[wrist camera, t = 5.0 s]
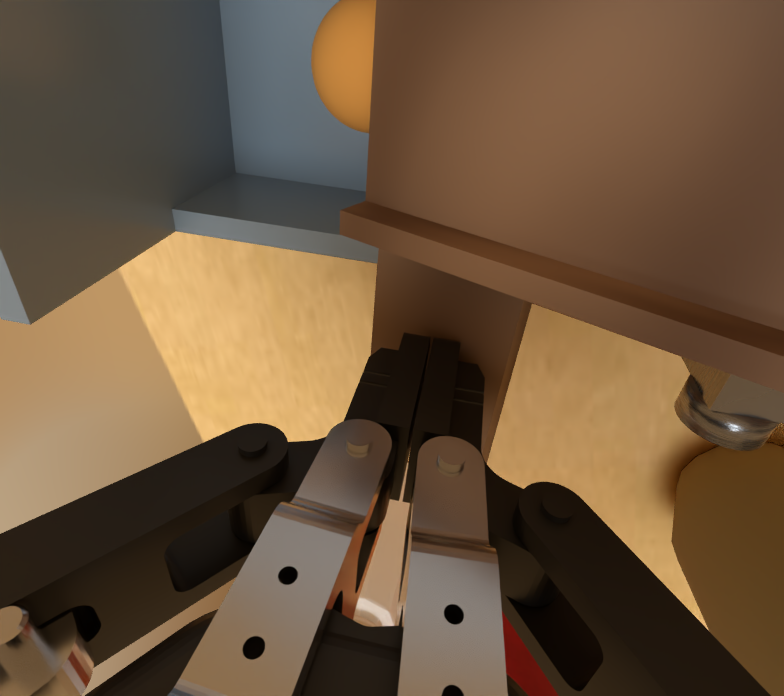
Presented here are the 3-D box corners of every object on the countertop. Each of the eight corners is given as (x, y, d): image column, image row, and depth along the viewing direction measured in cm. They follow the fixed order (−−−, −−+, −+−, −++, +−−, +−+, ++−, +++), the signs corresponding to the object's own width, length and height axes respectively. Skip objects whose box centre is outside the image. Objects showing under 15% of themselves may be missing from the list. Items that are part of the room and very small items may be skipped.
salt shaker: (443, 467, 29) (415, 667, 20) (423, 522, 32) (392, 715, 23) (355, 443, 29) (290, 629, 20) (344, 499, 33) (283, 682, 24)
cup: (538, -139, 14) (606, -472, 5) (471, 221, 21) (442, 402, 11) (189, -163, 16) (-339, -467, 6) (226, 185, 22) (1, 319, 12)
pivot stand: (842, -104, 14) (1709, -417, 4) (684, 245, 20) (866, 474, 10) (656, -116, 14) (1000, -423, 4) (558, 226, 20) (608, 426, 10)
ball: (288, -19, 15) (396, -6, 17) (292, 121, 17) (387, 118, 19) (351, -16, 12) (471, -1, 14) (347, 149, 15) (450, 143, 17)
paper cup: (447, 512, 31) (414, 795, 20) (572, 531, 30) (614, 844, 19) (441, 581, 36) (412, 846, 24) (551, 600, 34) (573, 889, 23)
